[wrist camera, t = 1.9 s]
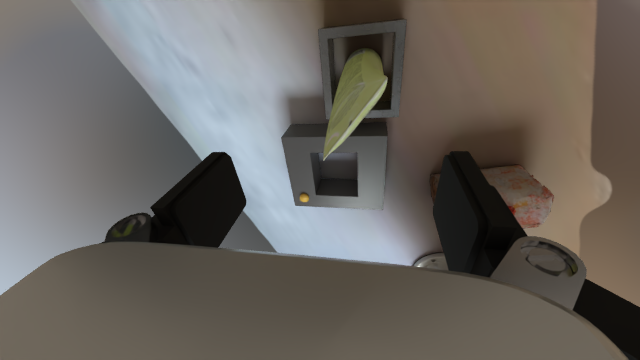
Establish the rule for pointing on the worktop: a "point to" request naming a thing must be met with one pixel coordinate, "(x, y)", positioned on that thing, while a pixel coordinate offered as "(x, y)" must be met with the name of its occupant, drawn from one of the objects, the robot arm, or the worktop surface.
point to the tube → (354, 96)
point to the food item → (515, 193)
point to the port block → (337, 193)
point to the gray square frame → (329, 33)
